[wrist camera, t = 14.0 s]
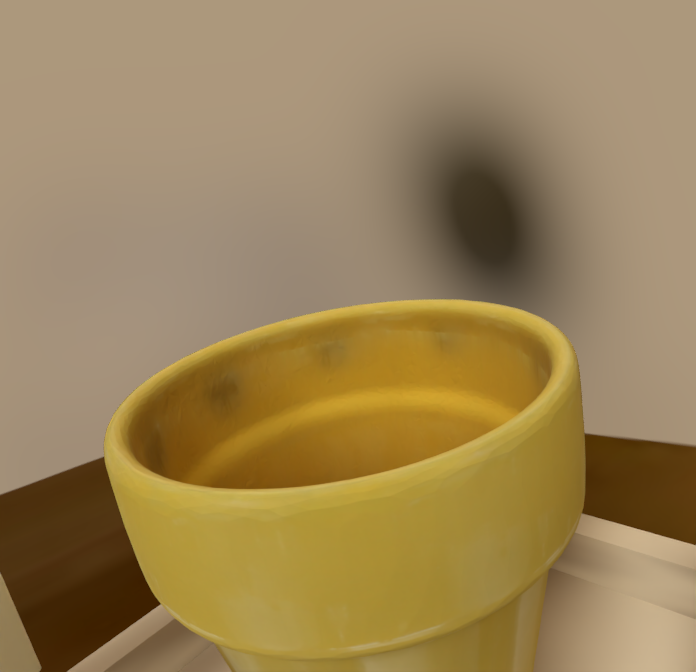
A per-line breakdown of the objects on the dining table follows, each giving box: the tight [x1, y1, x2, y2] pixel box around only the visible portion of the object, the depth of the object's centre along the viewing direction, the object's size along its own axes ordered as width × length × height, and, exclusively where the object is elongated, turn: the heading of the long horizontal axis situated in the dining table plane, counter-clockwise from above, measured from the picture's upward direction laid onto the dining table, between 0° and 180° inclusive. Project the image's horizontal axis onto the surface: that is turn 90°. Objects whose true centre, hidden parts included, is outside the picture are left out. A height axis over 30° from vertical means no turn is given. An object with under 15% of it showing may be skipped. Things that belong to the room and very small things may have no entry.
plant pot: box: [104, 299, 585, 672], centre depth 16 cm, size 10×10×10 cm
